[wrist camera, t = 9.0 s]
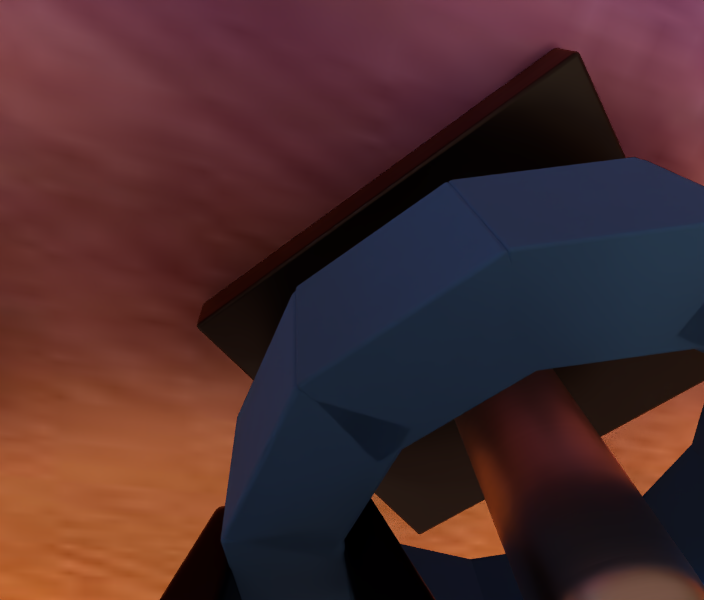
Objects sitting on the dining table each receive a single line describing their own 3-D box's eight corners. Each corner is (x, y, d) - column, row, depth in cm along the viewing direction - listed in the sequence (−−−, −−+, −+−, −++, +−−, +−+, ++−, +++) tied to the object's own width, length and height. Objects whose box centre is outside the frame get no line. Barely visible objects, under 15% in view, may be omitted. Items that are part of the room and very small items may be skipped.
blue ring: (431, 650, 13) (458, 773, 11) (118, 410, 9) (63, 538, 7) (840, 453, 11) (968, 559, 9) (699, 2, 7) (886, 3, 5)
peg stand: (412, 507, 16) (504, 901, 9) (201, 303, 12) (71, 721, 5) (696, 349, 14) (1095, 695, 7) (555, 45, 10) (1143, 142, 3)
